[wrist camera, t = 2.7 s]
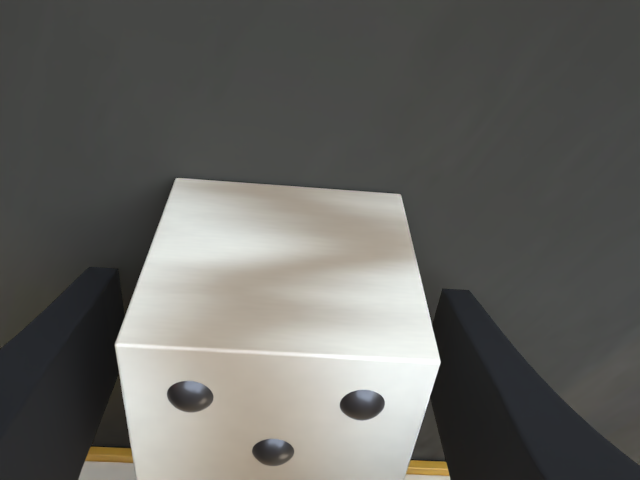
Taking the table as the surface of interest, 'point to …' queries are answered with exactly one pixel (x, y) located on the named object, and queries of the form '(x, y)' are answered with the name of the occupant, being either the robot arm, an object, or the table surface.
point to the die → (277, 337)
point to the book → (119, 475)
